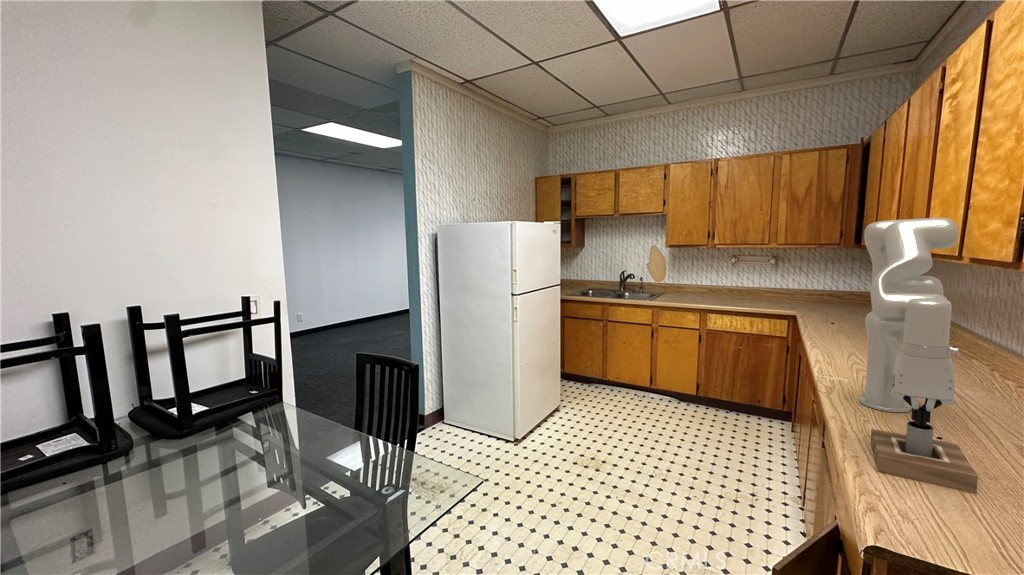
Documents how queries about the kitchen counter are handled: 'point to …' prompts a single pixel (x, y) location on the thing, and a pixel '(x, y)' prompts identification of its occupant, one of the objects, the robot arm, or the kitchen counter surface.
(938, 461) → the brown flat square frame
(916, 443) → the grey hollow tube
